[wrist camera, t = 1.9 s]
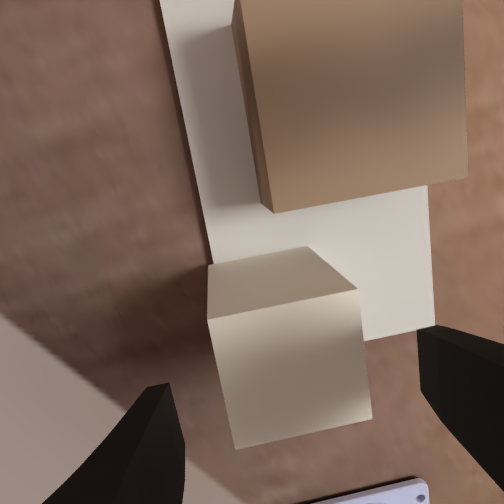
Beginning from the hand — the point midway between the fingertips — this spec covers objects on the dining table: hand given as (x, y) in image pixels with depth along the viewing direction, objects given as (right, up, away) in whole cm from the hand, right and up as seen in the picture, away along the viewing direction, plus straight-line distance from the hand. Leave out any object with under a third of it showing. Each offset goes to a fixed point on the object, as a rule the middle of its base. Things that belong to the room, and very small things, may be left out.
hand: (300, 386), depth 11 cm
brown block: (+2, +10, +5) cm, 11 cm away
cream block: (-1, +2, +7) cm, 7 cm away
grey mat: (+1, +7, +6) cm, 9 cm away
